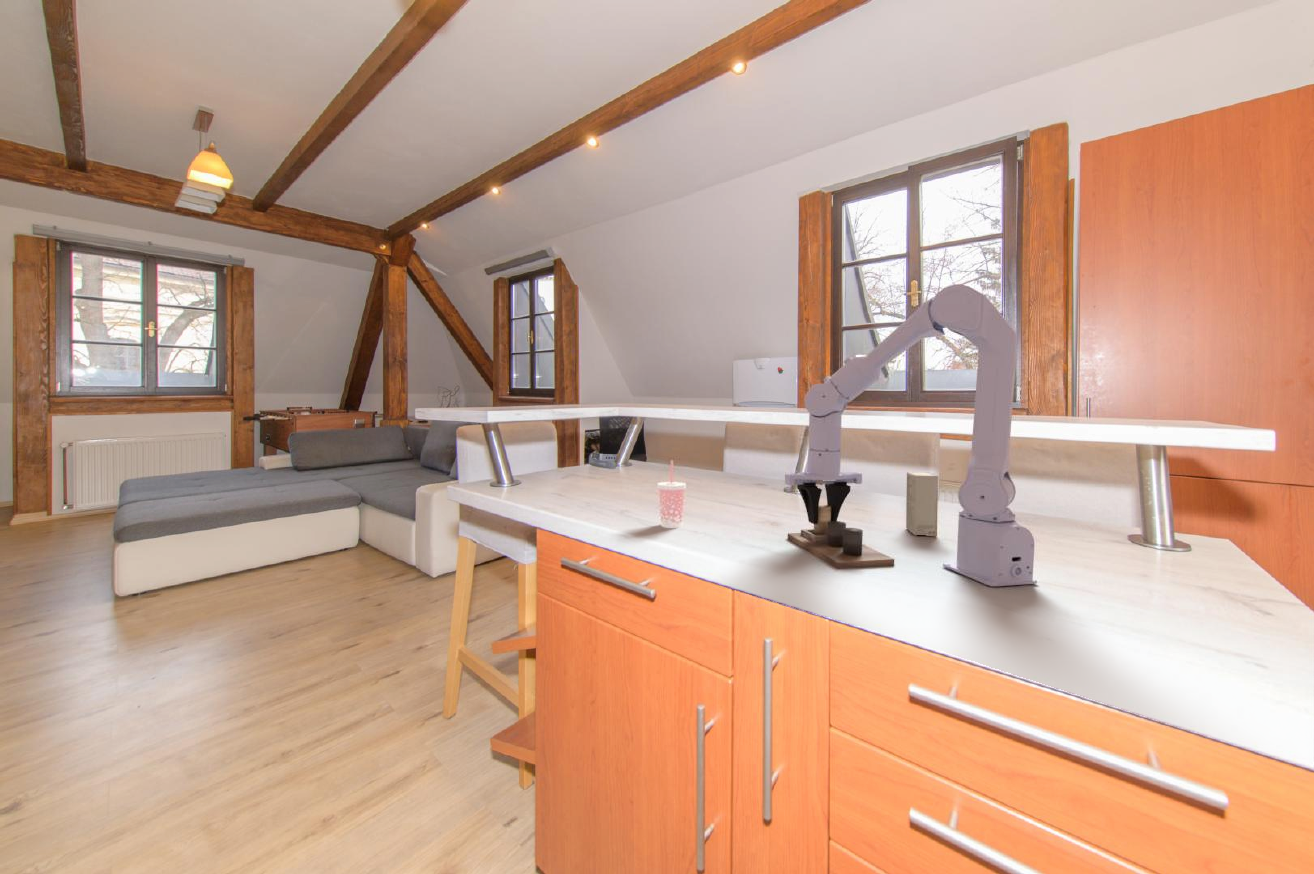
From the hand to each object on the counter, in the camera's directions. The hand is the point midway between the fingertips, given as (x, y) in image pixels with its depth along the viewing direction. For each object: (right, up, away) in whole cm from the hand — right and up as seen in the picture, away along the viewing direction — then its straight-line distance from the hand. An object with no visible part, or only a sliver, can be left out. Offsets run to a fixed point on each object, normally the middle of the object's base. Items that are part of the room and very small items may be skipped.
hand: (822, 522), depth 93 cm
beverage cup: (-28, -3, +13) cm, 31 cm away
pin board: (+1, -4, -5) cm, 6 cm away
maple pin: (0, -2, 0) cm, 2 cm away
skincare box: (+23, -4, +9) cm, 25 cm away
